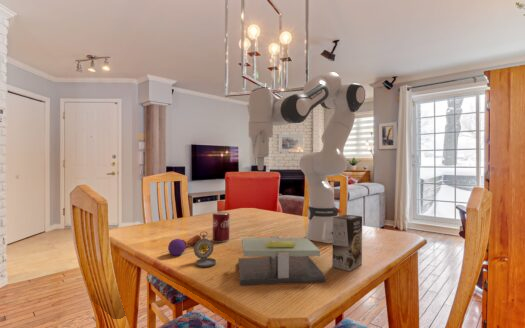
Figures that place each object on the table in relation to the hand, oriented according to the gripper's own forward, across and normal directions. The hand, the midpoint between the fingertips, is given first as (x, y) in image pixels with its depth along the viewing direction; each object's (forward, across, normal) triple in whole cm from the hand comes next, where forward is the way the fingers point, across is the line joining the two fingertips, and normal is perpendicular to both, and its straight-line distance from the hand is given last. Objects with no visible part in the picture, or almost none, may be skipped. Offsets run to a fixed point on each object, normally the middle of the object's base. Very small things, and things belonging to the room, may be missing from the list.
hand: (260, 170), depth 103 cm
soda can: (+31, +22, +15) cm, 41 cm away
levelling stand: (+31, -16, -4) cm, 35 cm away
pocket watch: (+31, -6, +19) cm, 37 cm away
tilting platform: (+24, -16, -4) cm, 29 cm away
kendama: (+32, +11, +28) cm, 44 cm away
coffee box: (+31, -13, -28) cm, 44 cm away
